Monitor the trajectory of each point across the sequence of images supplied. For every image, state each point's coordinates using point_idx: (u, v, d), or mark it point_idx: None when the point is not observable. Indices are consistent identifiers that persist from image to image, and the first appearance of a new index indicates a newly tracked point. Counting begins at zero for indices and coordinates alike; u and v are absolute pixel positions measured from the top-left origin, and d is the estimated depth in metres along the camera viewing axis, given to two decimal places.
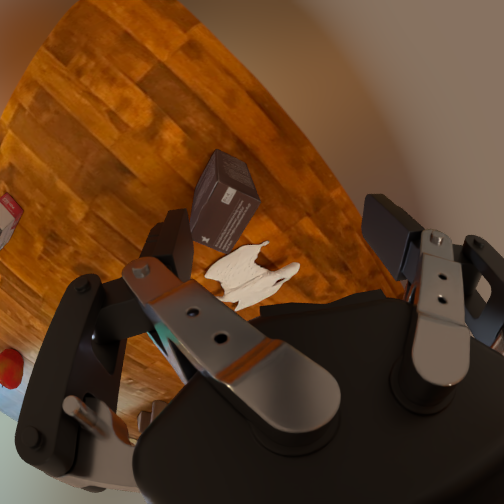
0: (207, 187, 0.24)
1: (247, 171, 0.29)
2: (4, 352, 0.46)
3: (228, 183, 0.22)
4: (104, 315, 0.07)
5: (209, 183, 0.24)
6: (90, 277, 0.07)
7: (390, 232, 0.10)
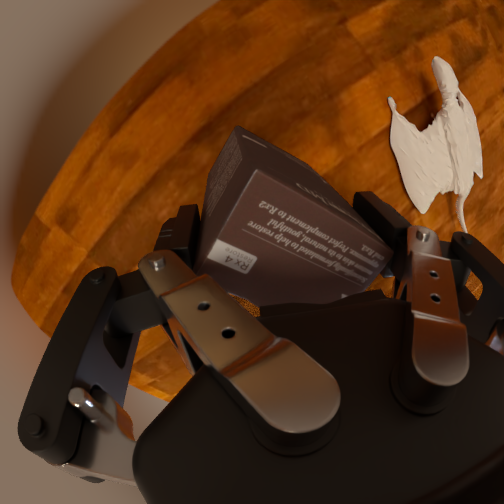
0: None
1: (236, 137, 0.14)
2: None
3: (203, 250, 0.09)
4: (120, 307, 0.07)
5: None
6: (106, 270, 0.08)
7: (377, 229, 0.10)
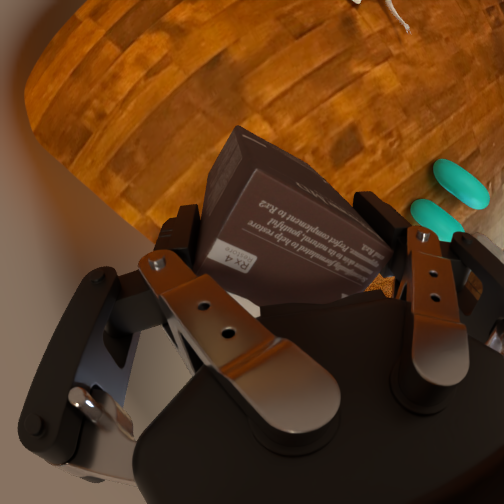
0: None
1: (236, 137, 0.14)
2: None
3: (202, 250, 0.09)
4: (120, 307, 0.07)
5: None
6: (106, 270, 0.08)
7: (377, 229, 0.10)
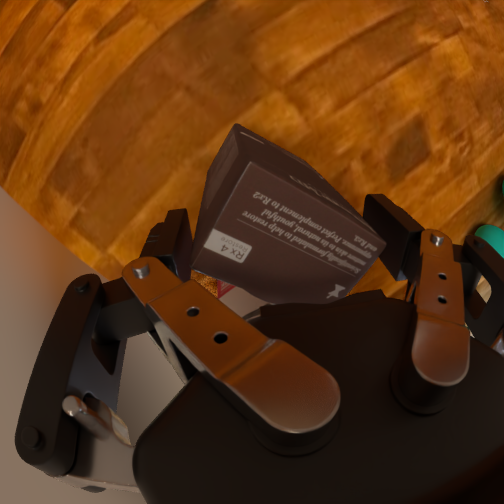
0: None
1: (234, 134, 0.14)
2: None
3: (200, 240, 0.09)
4: (104, 315, 0.07)
5: None
6: (90, 278, 0.07)
7: (390, 232, 0.10)
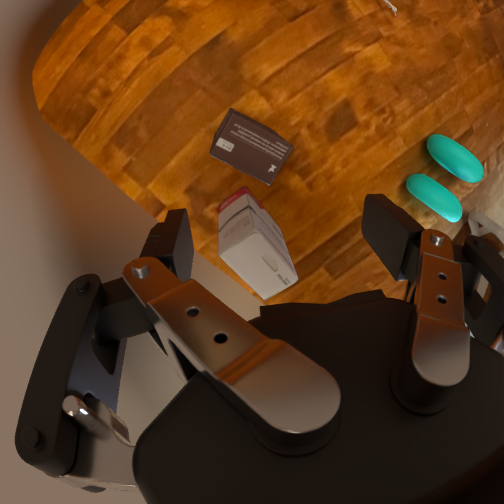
0: None
1: (229, 111, 0.27)
2: None
3: (214, 143, 0.22)
4: (104, 315, 0.07)
5: None
6: (90, 277, 0.07)
7: (390, 232, 0.10)
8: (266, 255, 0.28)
